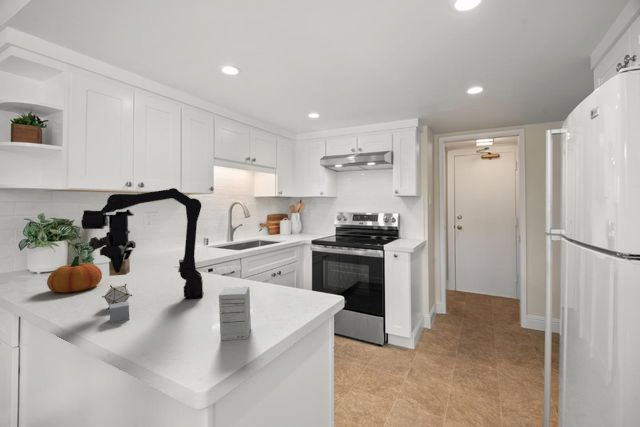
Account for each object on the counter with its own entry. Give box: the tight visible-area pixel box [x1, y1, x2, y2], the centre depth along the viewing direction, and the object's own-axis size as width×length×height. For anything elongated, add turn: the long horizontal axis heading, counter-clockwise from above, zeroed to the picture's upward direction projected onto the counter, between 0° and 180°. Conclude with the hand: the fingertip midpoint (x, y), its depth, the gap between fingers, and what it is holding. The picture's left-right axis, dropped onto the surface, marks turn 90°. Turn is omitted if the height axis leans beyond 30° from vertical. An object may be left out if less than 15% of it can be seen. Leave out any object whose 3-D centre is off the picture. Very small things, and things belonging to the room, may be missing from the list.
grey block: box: [108, 300, 130, 325], centre depth 96 cm, size 5×5×5 cm
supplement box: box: [218, 286, 252, 341], centre depth 83 cm, size 7×7×13 cm
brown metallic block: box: [108, 258, 131, 277], centre depth 107 cm, size 5×5×5 cm
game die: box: [101, 283, 133, 310], centre depth 108 cm, size 9×8×10 cm
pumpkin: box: [46, 255, 103, 294], centre depth 133 cm, size 19×19×15 cm
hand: (119, 270), depth 107 cm, fingers closed on brown metallic block, 5 cm apart
